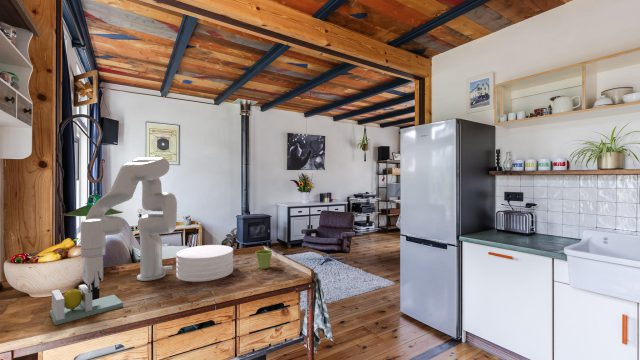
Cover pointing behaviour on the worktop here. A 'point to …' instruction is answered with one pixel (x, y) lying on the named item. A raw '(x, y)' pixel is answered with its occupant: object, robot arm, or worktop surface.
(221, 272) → the plate stack
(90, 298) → the vise jaw
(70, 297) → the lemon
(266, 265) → the plant pot
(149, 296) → the worktop surface
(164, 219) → the robot arm
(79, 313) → the vise base
